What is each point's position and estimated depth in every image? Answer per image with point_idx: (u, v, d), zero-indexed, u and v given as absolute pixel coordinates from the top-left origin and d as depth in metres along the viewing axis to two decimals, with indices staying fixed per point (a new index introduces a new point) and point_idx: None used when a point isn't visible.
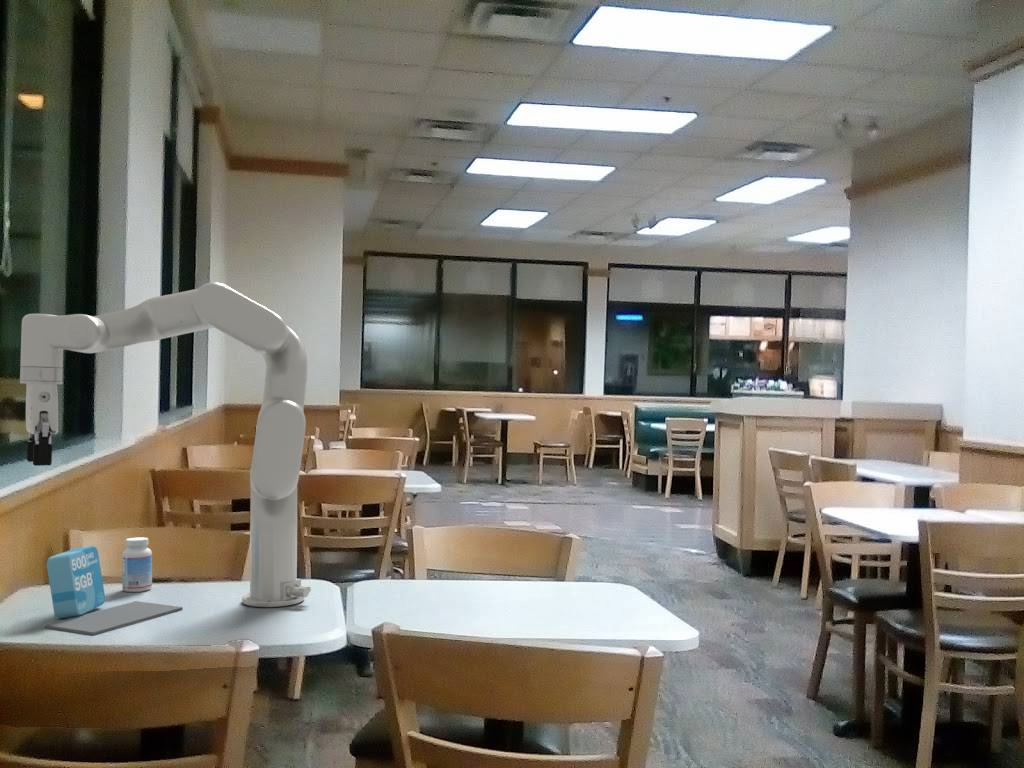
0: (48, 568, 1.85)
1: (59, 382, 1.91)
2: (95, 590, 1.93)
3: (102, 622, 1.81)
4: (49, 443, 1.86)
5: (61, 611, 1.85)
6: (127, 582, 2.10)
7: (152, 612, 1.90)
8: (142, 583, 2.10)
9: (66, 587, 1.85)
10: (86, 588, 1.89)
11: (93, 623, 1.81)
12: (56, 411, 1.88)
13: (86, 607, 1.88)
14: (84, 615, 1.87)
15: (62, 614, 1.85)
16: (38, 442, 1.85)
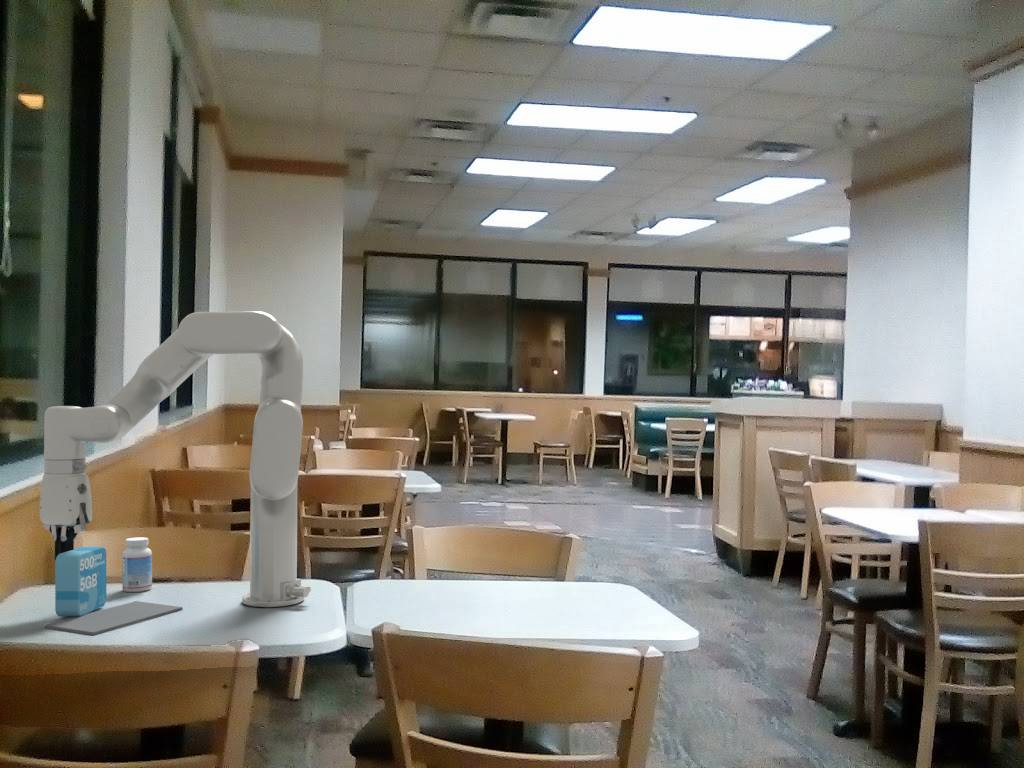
0: (56, 565, 1.85)
1: None
2: (97, 592, 1.93)
3: (102, 622, 1.81)
4: (73, 539, 1.93)
5: (63, 610, 1.85)
6: (127, 582, 2.10)
7: (152, 612, 1.90)
8: (142, 583, 2.10)
9: (71, 586, 1.85)
10: (89, 589, 1.89)
11: (93, 623, 1.81)
12: (91, 501, 1.93)
13: (87, 608, 1.88)
14: (84, 615, 1.87)
15: (63, 612, 1.85)
16: (66, 538, 1.91)
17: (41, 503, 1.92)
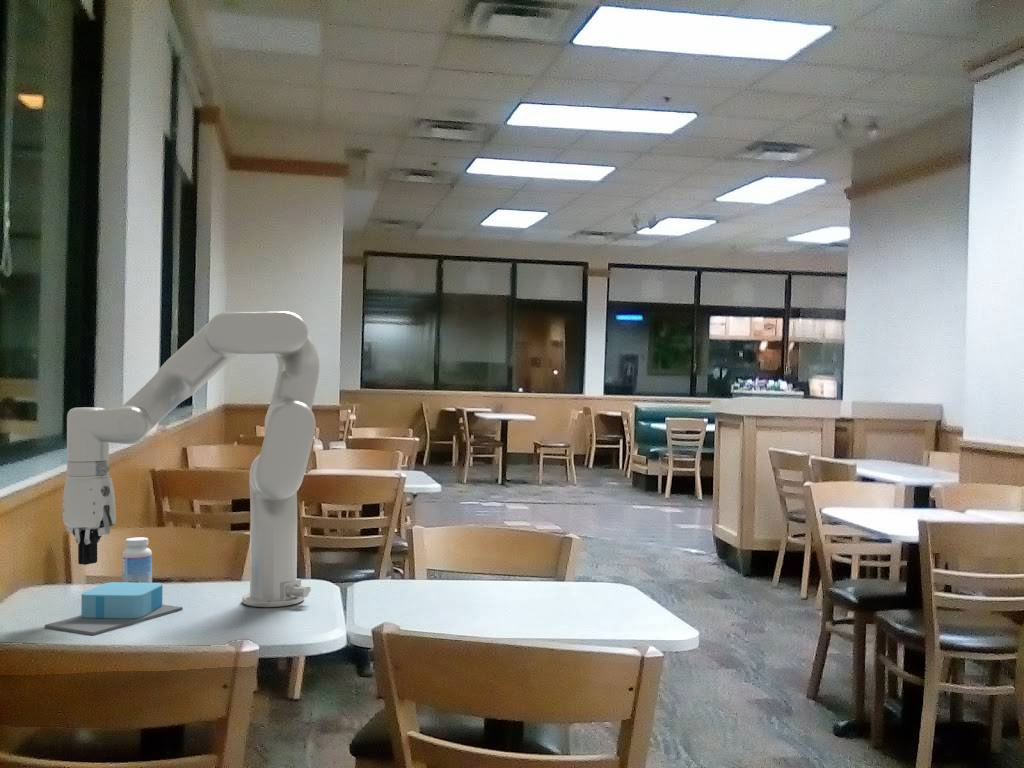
0: (129, 597, 1.84)
1: None
2: None
3: (102, 622, 1.81)
4: (96, 542, 1.91)
5: (85, 603, 1.85)
6: None
7: (152, 612, 1.90)
8: None
9: (108, 611, 1.84)
10: None
11: (93, 623, 1.81)
12: (114, 504, 1.90)
13: None
14: None
15: (83, 603, 1.85)
16: (90, 541, 1.89)
17: (64, 506, 1.90)
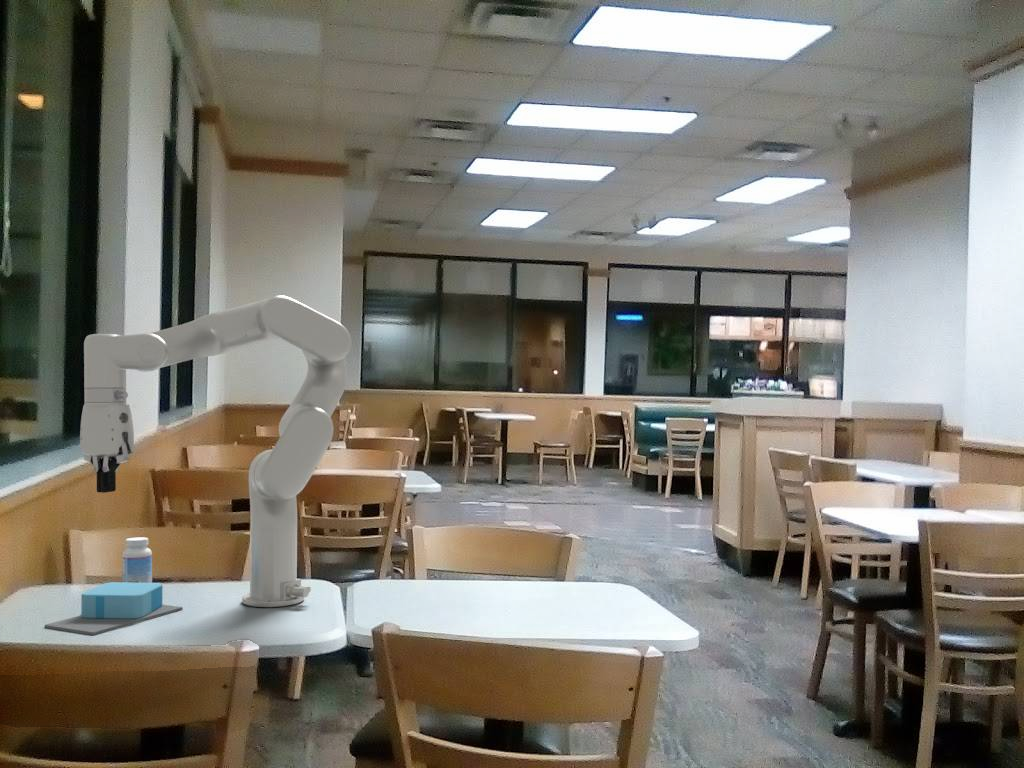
0: (129, 597, 1.84)
1: None
2: None
3: (102, 622, 1.81)
4: (114, 470, 1.89)
5: (85, 603, 1.85)
6: None
7: (152, 612, 1.90)
8: None
9: (108, 611, 1.84)
10: None
11: (93, 623, 1.81)
12: (133, 431, 1.88)
13: None
14: None
15: (83, 603, 1.85)
16: (109, 469, 1.87)
17: (82, 434, 1.88)
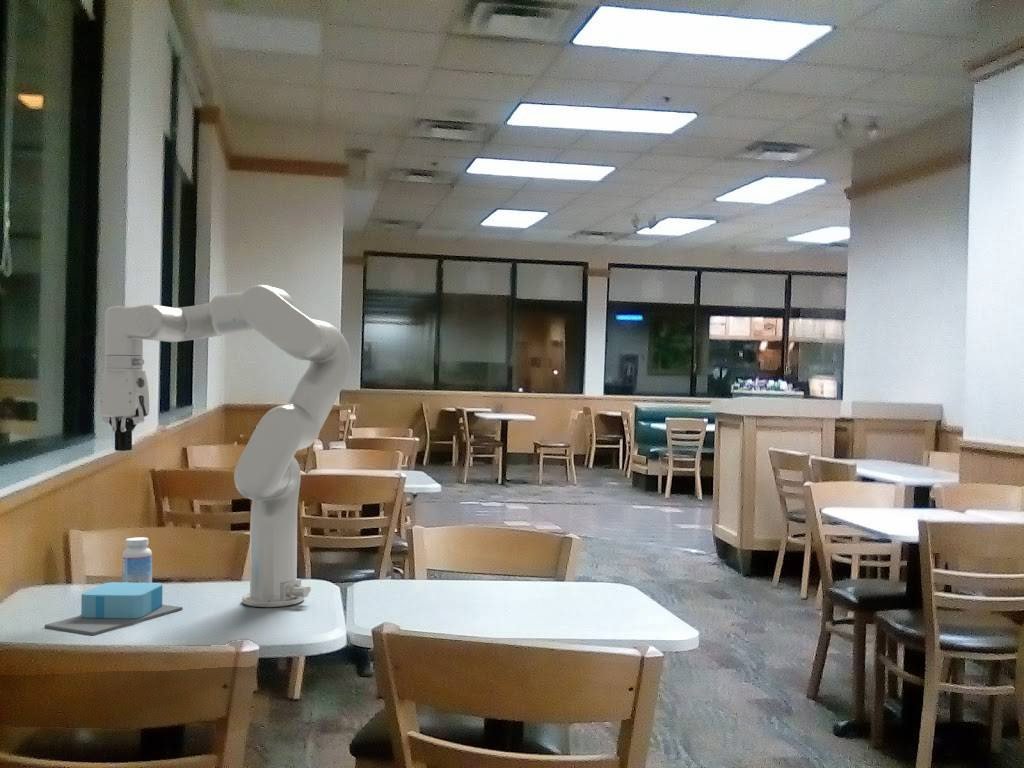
0: (129, 597, 1.84)
1: None
2: None
3: (102, 622, 1.81)
4: (131, 431, 2.07)
5: (85, 603, 1.85)
6: None
7: (152, 612, 1.90)
8: None
9: (108, 611, 1.84)
10: None
11: (93, 623, 1.81)
12: (148, 395, 2.06)
13: None
14: None
15: (83, 603, 1.85)
16: (126, 429, 2.05)
17: (102, 397, 2.06)
